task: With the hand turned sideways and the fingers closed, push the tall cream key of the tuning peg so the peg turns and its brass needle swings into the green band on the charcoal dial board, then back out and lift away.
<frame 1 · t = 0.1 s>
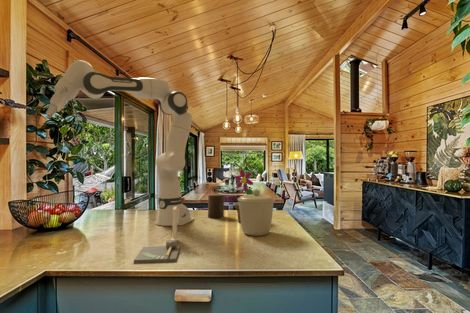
hand: (48, 115, 122), 54 cm above the counter, tool tilted 30°, fingers open, 8 cm apart
flowerpot: (247, 222, 154), on the counter
canister: (255, 233, 131), on the counter
pillar candle: (215, 217, 168), on the counter
dial board: (171, 250, 106), on the counter
tuning peg: (172, 228, 108), point 8 cm above the counter, hinge at 0.0°
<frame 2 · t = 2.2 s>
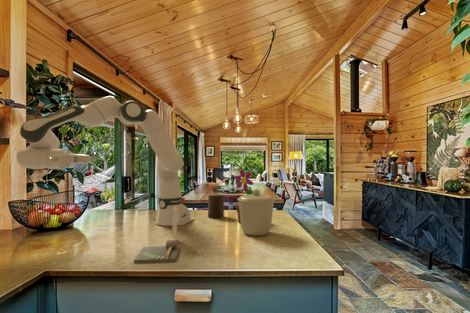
hand: (92, 159, 121), 35 cm above the counter, tool horizontal, fingers open, 5 cm apart
nothing on the counter moved.
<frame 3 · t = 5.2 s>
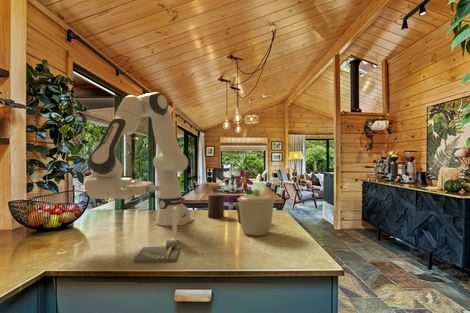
hand: (160, 188, 117), 23 cm above the counter, tool horizontal, fingers closed
nothing on the counter moved.
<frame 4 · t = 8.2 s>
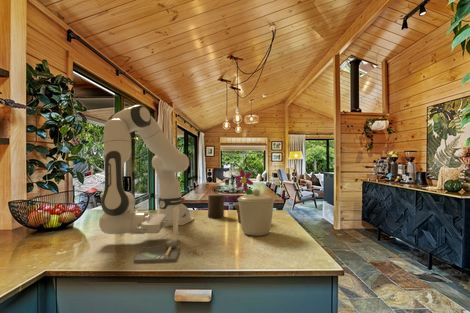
hand: (174, 222, 117), 8 cm above the counter, tool horizontal, fingers closed, pressing on tuning peg
tuning peg: (172, 228, 108), point 8 cm above the counter, hinge at -1.8°, touching gripper
everything else where it was.
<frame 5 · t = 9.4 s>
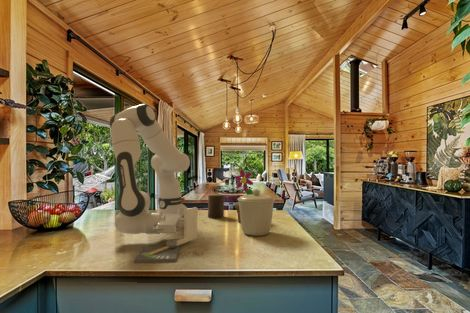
hand: (189, 223, 117), 8 cm above the counter, tool horizontal, fingers closed
tuning peg: (175, 228, 107), point 8 cm above the counter, hinge at -36.5°, touching gripper
everything else where it was.
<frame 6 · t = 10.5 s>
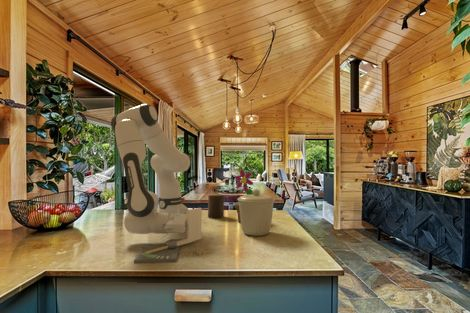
hand: (197, 222, 118), 8 cm above the counter, tool horizontal, fingers closed
tuning peg: (175, 228, 107), point 8 cm above the counter, hinge at -46.7°, touching gripper
everything else where it was.
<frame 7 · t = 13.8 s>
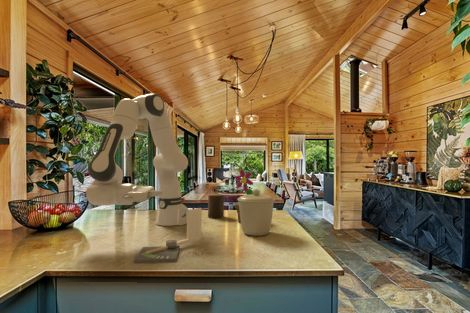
hand: (161, 193, 117), 21 cm above the counter, tool horizontal, fingers closed
tuning peg: (175, 228, 107), point 8 cm above the counter, hinge at -46.7°
everything else where it was.
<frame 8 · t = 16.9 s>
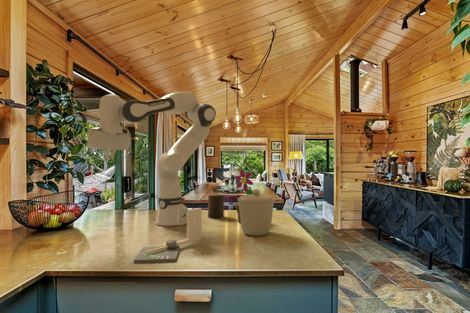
hand: (109, 159, 127), 35 cm above the counter, tool pointing down, fingers closed
nothing on the counter moved.
at the end: tuning peg at -47° (first picture: +0°) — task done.
